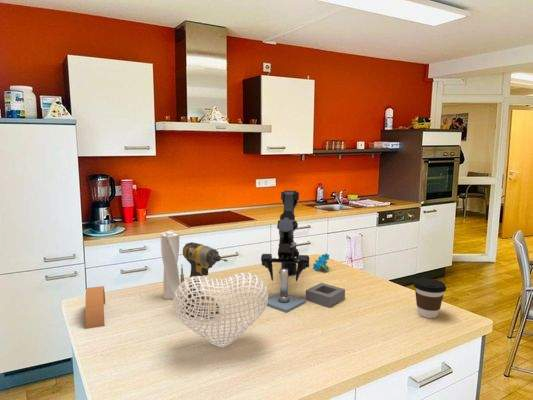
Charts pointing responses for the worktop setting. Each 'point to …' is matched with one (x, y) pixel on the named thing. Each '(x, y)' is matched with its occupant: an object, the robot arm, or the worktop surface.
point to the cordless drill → (200, 268)
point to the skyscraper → (171, 263)
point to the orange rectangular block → (95, 307)
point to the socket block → (325, 294)
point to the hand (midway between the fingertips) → (284, 280)
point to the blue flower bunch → (321, 262)
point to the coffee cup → (429, 296)
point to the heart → (219, 283)
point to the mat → (285, 307)
